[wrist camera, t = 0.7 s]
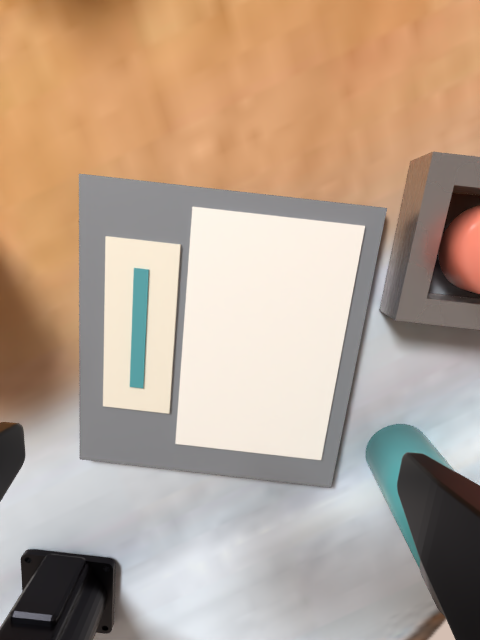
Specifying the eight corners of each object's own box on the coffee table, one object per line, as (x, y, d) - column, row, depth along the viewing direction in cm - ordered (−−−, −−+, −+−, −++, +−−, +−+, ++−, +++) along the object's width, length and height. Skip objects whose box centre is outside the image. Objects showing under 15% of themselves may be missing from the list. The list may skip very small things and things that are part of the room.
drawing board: (328, 479, 24) (332, 490, 23) (85, 451, 24) (77, 462, 23) (381, 208, 20) (389, 207, 18) (85, 175, 20) (76, 172, 18)
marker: (421, 483, 24) (521, 632, 15) (359, 476, 24) (422, 621, 15) (437, 427, 23) (553, 552, 14) (371, 420, 23) (447, 540, 14)
